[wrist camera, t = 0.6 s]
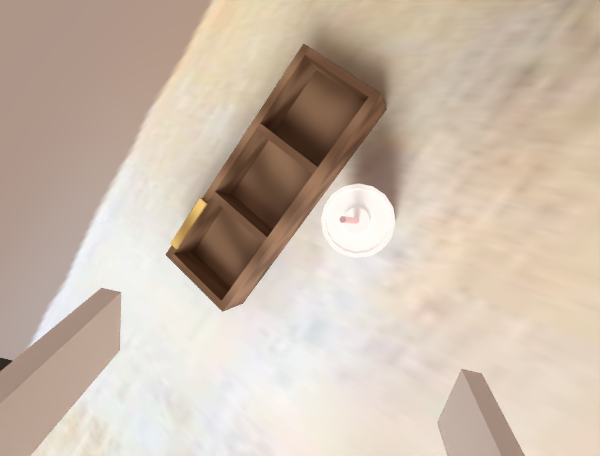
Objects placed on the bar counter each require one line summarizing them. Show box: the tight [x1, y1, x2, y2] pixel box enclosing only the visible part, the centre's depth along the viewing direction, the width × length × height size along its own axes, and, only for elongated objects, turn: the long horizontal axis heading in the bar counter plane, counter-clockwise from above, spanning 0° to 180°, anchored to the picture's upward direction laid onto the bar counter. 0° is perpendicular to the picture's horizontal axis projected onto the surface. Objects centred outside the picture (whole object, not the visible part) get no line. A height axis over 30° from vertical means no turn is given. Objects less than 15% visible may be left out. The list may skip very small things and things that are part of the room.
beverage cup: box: [321, 183, 396, 258], centre depth 32 cm, size 6×6×14 cm
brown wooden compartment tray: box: [166, 44, 386, 312], centre depth 40 cm, size 27×10×5 cm, turn 142°
